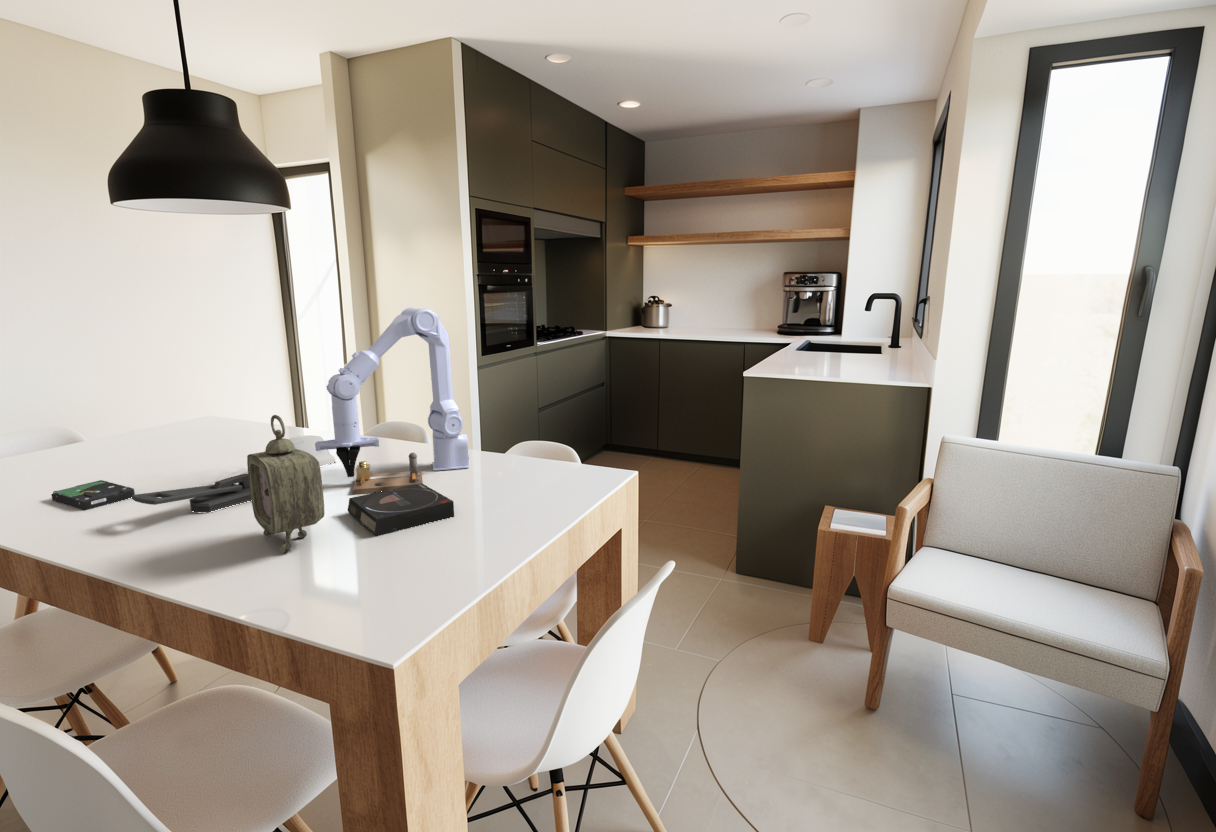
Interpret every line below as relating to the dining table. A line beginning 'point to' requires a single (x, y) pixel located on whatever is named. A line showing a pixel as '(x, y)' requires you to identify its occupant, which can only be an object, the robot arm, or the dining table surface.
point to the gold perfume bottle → (363, 471)
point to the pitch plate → (390, 479)
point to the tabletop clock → (285, 487)
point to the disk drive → (92, 494)
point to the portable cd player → (400, 508)
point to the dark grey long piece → (204, 495)
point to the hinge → (312, 448)
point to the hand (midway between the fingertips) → (350, 476)
